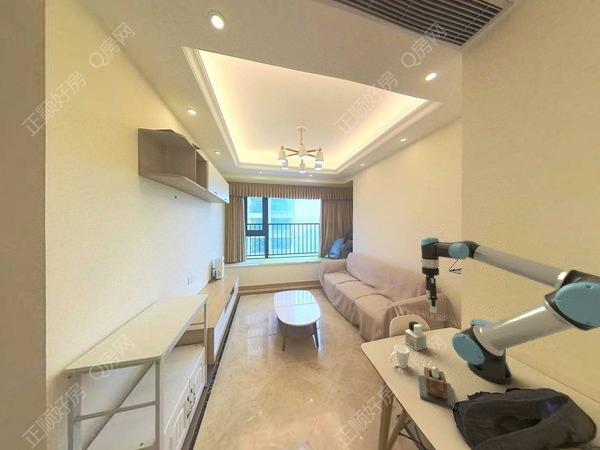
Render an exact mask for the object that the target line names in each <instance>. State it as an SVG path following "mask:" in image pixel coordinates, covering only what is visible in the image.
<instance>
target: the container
mask: <svg viewBox="0 0 600 450" xmlns="http://www.w3.org/2000/svg"><path fill="white" fill-rule="evenodd" d="M404 333H405V334H404V335H405V337H404V339H405V344H406V345H407V344H408V346H409V347H410V346H411V348H412V349H413V348H414V349H413V350H415V351H417V352H418V351H421V350H425V349H427V347H428V346H427V345H428V343H427V342H428V341H427V334H426V333H424V332H423V325H422V324H421V323H419V322H417V321H412V320H411V321H409V322H408V329H405V331H404ZM424 348H425V349H424Z"/></svg>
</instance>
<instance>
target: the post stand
mask: <svg viewBox="0 0 600 450" xmlns="http://www.w3.org/2000/svg"><path fill="white" fill-rule="evenodd" d="M431 369H432V378H436V379H439V371H440V370H439V368H438V367H437V366H432V367H431ZM417 380H418V388H419V398H420V399H421V400H424V401H426V402H431V403H433V404H436V405H439V406H441V407H442V406H443V407H445V408H449V409H451V410H453V409H452V408H453V406H454V404H455V403H457V401H456V398H455V394H454V392H453V389H452V385H451V383H448V382H447V397H448V399H445V398H442V397H439V396H435V395H432V394H429V393H426V387H425V380H424V375H420V374H417Z"/></svg>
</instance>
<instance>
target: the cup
mask: <svg viewBox="0 0 600 450" xmlns="http://www.w3.org/2000/svg"><path fill="white" fill-rule="evenodd" d="M393 350H394V351H393V352H392V353H391V354H390V357H389V358H390V359H389V360H390V362H391V364H393V365H394V366H395V367H400V368H402V369H406V368H407V367H408V363H409V356H410V350H409V348H408V347H407V346H405V345H403V344H395V345H394V346H393ZM394 355H395V360H396V364H395V363H394V362H393V356H394Z"/></svg>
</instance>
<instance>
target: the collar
mask: <svg viewBox="0 0 600 450" xmlns="http://www.w3.org/2000/svg"><path fill="white" fill-rule="evenodd" d="M423 372H424V374H423V376H424V380H425V387H426V393H429V394H432V395H435V396H439V397H442V398H445V399H448V397H447V383H448V382H447V380H446V376H445V373H444V371H441V370H439V379H436V378H432V367H431V368H430V367H427V366H424V367H423Z"/></svg>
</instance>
